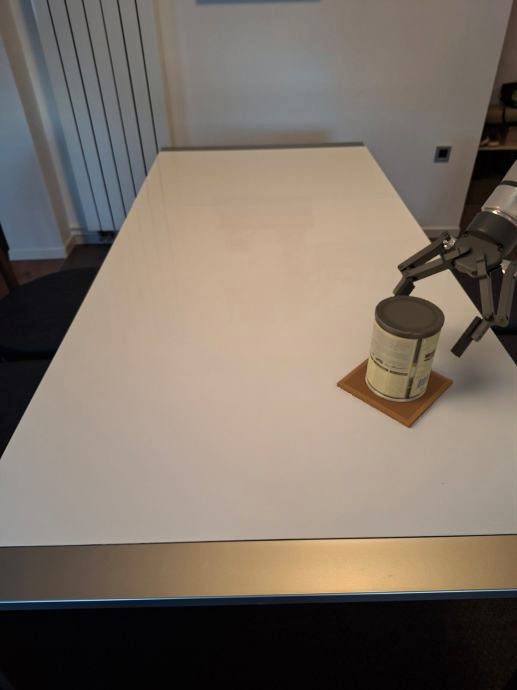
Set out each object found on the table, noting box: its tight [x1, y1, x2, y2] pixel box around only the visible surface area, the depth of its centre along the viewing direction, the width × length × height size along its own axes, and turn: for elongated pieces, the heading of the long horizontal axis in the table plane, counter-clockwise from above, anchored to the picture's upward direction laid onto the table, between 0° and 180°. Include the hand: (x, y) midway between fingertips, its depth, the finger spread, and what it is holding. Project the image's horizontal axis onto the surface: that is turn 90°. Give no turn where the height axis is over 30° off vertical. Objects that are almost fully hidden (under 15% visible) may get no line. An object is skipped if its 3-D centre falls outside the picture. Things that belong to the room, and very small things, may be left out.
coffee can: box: [365, 295, 446, 402], centre depth 80 cm, size 10×10×14 cm
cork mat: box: [336, 357, 454, 429], centre depth 84 cm, size 14×14×1 cm
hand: (419, 333), depth 80 cm, fingers open, 13 cm apart
